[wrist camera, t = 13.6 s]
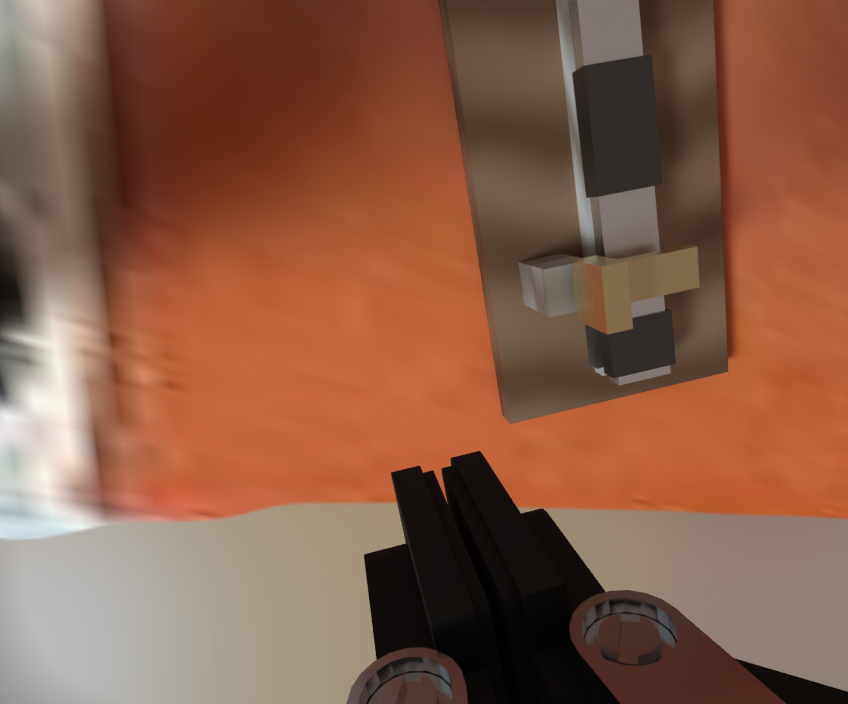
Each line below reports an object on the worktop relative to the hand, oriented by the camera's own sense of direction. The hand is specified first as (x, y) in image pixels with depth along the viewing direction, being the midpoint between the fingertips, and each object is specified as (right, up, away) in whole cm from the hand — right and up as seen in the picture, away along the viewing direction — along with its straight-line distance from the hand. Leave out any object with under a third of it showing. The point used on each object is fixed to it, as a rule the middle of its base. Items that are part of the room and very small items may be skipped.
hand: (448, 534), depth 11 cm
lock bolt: (+10, +7, +18) cm, 22 cm away
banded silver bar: (+9, +14, +19) cm, 25 cm away
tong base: (+8, +16, +22) cm, 28 cm away
